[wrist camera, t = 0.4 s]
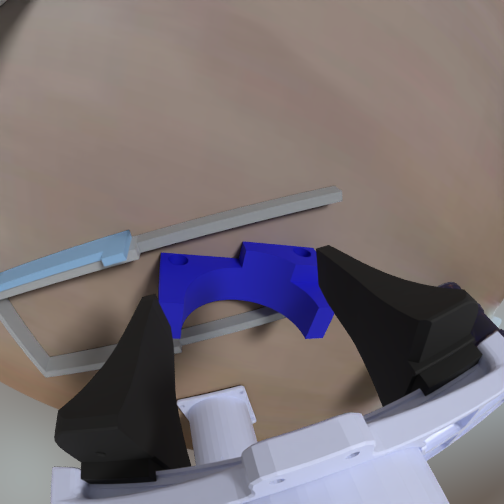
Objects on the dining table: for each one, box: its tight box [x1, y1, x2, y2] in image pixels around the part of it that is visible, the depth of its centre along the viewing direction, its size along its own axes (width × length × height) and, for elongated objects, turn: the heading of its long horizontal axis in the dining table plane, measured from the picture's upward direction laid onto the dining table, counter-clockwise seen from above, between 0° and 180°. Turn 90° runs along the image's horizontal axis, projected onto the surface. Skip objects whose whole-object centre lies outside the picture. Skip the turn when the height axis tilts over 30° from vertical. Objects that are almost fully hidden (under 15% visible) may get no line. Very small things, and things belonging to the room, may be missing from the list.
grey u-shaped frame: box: [0, 186, 342, 377], centre depth 23 cm, size 11×30×2 cm, turn 100°
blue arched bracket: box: [158, 242, 334, 339], centre depth 22 cm, size 12×4×6 cm, turn 77°
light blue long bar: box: [0, 230, 132, 292], centre depth 19 cm, size 1×14×3 cm, turn 101°
